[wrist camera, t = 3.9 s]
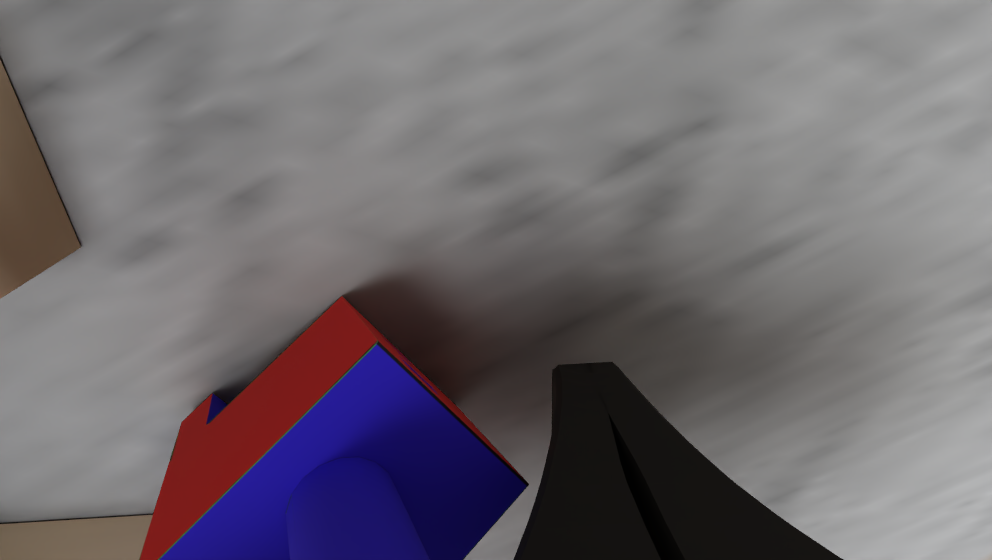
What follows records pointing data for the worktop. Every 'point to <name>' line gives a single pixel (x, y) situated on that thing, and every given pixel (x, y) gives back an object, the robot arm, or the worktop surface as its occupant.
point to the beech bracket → (4, 267)
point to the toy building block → (331, 462)
